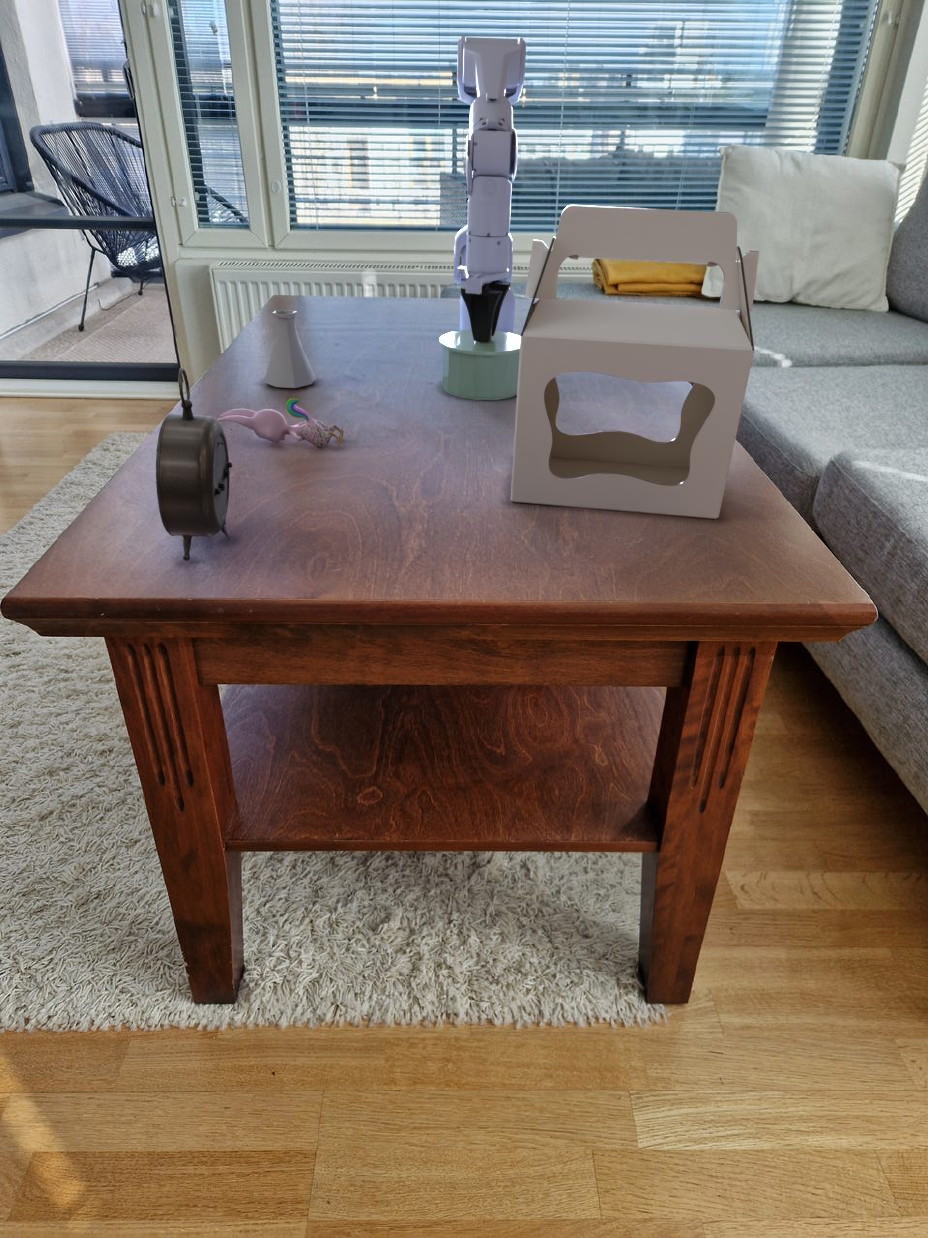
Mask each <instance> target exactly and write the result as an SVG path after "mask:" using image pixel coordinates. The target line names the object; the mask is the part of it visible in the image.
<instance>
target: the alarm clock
mask: <svg viewBox="0 0 928 1238" xmlns="http://www.w3.org/2000/svg"><path fill="white" fill-rule="evenodd" d="M183 380H184V383H185V391H186V399H185V396H184V395H185V394H184V387H183ZM177 383H178V390H179V396H180V400H181V402H180V406H181V408H182V413H181V414H180V413H172V412H171V413H169V414H167V415H166V416H165V417H164V418H163V420H162V423H161V426H160V429H159V434H158V437H157V443H156V450H155V451H156V453H155V456H156V457H155V486H156V496H157V504H158V509H159V510H158V512H159V515H160V518H161V519H160V520H161V523H162V526H163V527H164V530H165V531H166V532H167V534H169V535H170V536H171V537H175V536H177V537H179V536H180V537H182V538H183V539H182V540H183V541H182V543H183V544H182V545H183V555H182V560H183V561H184V562H188V561H190V560H191V556H190V551H191V546H192V539H193V537H196V538H197V537H204V538H210V537H214V536H216V535H217V534H218V533H220V531H221V532H222V534H223V535H224V536H225V537H226V538H227V539H229V540H231V539H232V537H231V535H230V534H229V532H228V530H227V527H226V524H227V513H228V510H229V509H228V508H229V500H230V499H229V498H230V475H231V471H230V469H232V468H233V463H232V462H231V461H230V458H229V456H230V455H229V449H228V442H227V437H226V433H225V430H224V428H223V426H222V424H221V423H220V422H218V421H217V418H216V417H213V416H211V415H201V414H193V409H192V408H193V402H192V400H191V392H190V391H191V390H190V384H189V378H188V374H187V372H186V370H185V368H183V367H180V368H178V376H177Z"/></svg>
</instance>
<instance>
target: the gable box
mask: <svg viewBox="0 0 928 1238" xmlns="http://www.w3.org/2000/svg"><path fill="white" fill-rule="evenodd" d="M557 225H558V227H557V230H556V234H555V236H552V239H551V242H550V245H549V246H548V245H547V244H546V243H545V241H543V239H532V246H531V250H530V251H531V252H530V259H529V266H528V273H527V279H526V287H525V293H524V298H525V299H532V300H531V302H530V306H529V309H528V312H527V314H526V317H525V321H524V324H523V327H522V329H521V333H520V336H521V339H520V355H519V371H518V387H517V395H516V404H515V405H516V406H515V420H514V421H515V422H514V433H513V435H514V437H513V450H512V451H513V453H512V468H511V484H510V502H512V503H518V504H519V503H520V504H531V505H543V506H555V507H556V506H557V507H565V508H567V507H568V508H581V509H593V510H602V511H616V512H626V513H627V512H629V513H639V514H649V515H650V514H651V515H661V516H662V515H663V516H676V517H689V518H697V519H699V518H700V519H711V520H712V519H713V520H716V519H719V517H720V513H721V508H722V504H723V499H724V494H725V489H726V485H727V480H728V475H729V471H730V466H731V461H732V456H733V452H734V448H735V443H736V438H737V433H738V428H739V425H740V419H741V415H742V410H743V405H744V401H745V395H746V393H747V386H748V381H749V378H750V373H751V367H752V362H753V358H754V353H755V343H754V336H753V328H752V320H751V313H750V312H752V311H753V306H754V305H753V304H754V297H755V290H756V289H755V288H756V280H757V272H758V265H759V256H760V251H759V250H748V251H747V252H745V253H744V254H743V253H742V250H741V247H740V246H739V245H738V220H737V218H736V216H735V215H734V214H733V213H731V212H728V211H713V210H712V211H711V210H693V209H692V210H690V209H689V210H687V209H669V208H647V207H628V206H627V207H624V206H603V205H602V206H601V205H585V204H584V205H583V204H569V205H567V206H566V207H565V208H564V209H563V210H562V212H561V213H560V217H559V222H558V224H557ZM567 258H569V259H572V260H575V261H576V260H578V259H579V258H580V259H596V260H615V261H634V262H636V261H637V262H654V263H670V264H671V263H673V264H691V265H692V264H693V265H706V266H707V267H709V268H713V267H716V266H718V267H719V268H720V270H721V271H722V274H723V283H722V288H721V294H720V298H719V299H720V300H719V304H718V307H717V306H700V305H682V304H665V303H648V302H632V301H631V302H630V301H616V300H615V301H613V300H612V301H611V300H596V299H595V300H594V299H581V298H580V299H579V298H578V299H577V298H563V297H561V298H560V297H557V292H558V291H557V290H558V281H559V279H558V278H559V271H560V268H561V265H562V264H563V262H564V261H565V260H566V259H567ZM536 299H537V300H536ZM567 373H594V374H595V373H596V374H601V375H606V376H611V377H615V378H619V379H623V380H627V381H631V382H636V383H637V382H638V383H643V384H645V383H646V384H654V383H656V384H657V383H671V382H673V383H674V382H685V383H686V382H687V383H693V384H692V387H691V388H690V390H689V392H688V394H687V395H686V397H685V399H684V401H683V403H682V407H681V410H680V422H679V423H680V424H679V425H680V426H679V430H678V433H677V435H676V436H675V438H673V439H671V440H667V441H656V440H652V439H649V438H647V437H644V436H642V435H639V434H637V433H633V432H627V431H622V430H600V431H599V430H598V431H594V432H588V433H577V434H573V433H565V432H563V431H562V430H560V429H559V428H558V426H557V422H556V420H557V416H558V415H557V414H558V411H559V407H560V390H559V386H558V381H557V378H556V377H557V376H561V375H562V374H567Z"/></svg>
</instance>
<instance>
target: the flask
mask: <svg viewBox="0 0 928 1238" xmlns="http://www.w3.org/2000/svg"><path fill="white" fill-rule="evenodd" d="M297 314H298V311H297V310H293V309H283V308H282V309H277V310H274V311H272V317H274V320H275V333H274V342H273V345H272V350H271V354H270V359H269V362H268V366H267V369H266V372H265V377H264V381H263V383H264V384H267V385H270V386H273V387H274V388H285V389H286V388H287V389H296V388H298V389H299V388H301V387H306V386H309V385H310V386H311V385H312V384H313V383H314V382H315V381H316V380H317V377H316V375H315V372H314V370H313V368H312V366H311V363H310V362H309V359H308V357H307V356H306V353H305V350H304V348H303V345H302V343H301V340H300V338H299V334H298V330H297V325H296V317H297Z"/></svg>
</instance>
